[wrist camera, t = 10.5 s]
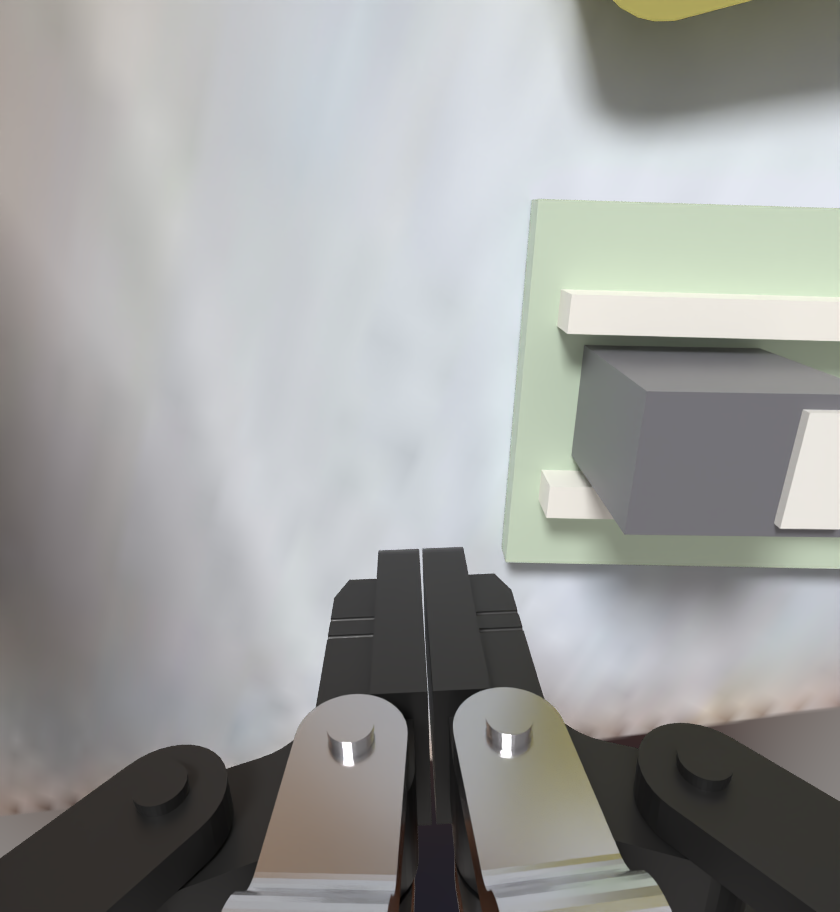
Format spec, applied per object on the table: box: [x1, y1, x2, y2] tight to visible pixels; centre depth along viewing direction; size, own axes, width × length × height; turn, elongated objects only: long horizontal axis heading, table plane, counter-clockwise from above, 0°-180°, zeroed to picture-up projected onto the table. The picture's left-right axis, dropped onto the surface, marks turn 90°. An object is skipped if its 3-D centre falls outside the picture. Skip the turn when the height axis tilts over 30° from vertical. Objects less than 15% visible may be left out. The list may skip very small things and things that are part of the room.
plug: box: [571, 345, 840, 537], centre depth 19 cm, size 6×4×6 cm, turn 89°
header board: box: [502, 199, 840, 569], centre depth 20 cm, size 18×13×6 cm
